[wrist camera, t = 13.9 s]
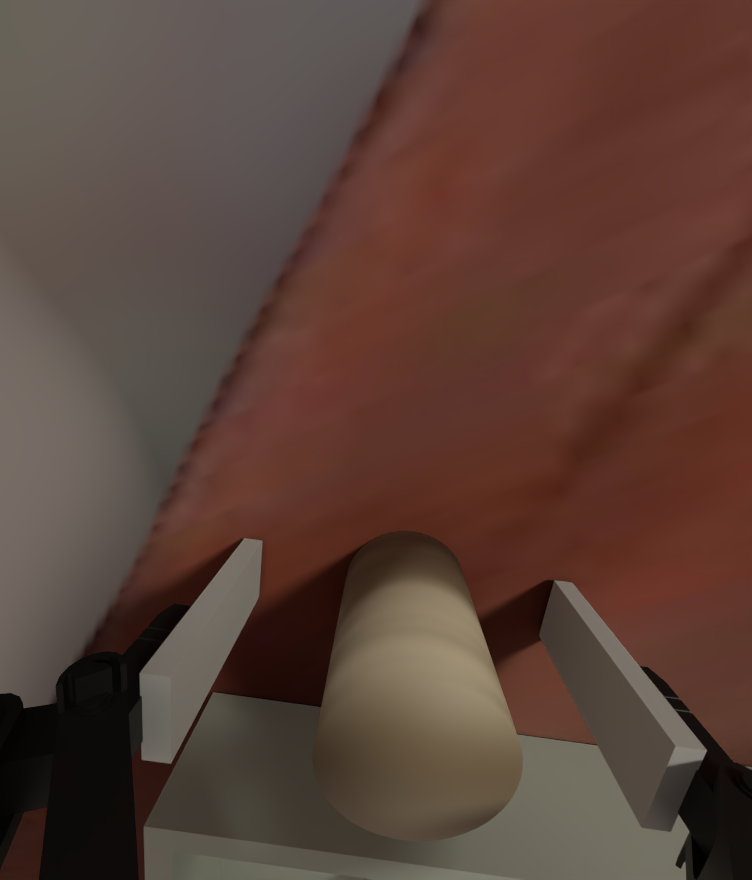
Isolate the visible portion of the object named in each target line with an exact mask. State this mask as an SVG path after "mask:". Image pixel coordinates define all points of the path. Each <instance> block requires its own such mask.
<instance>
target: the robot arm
mask: <svg viewBox="0 0 752 880" xmlns="http://www.w3.org/2000/svg"><path fill="white" fill-rule="evenodd" d="M261 556H262V541H261V540H254V539H246V538H244V539H243V541H242V542H241V543H240V545H239V546H238V547H237V548H236V550H235V551H234V552H233V554H232V555H231V556H230V557H229V559H228V560H227V561H226V563H225V564H224V565H223V566H222V568H221V569H220V570H219V572H218V573H217V574H216V575H215V577H214V578H213V579H212V581H211V582H210V583H209V584H208V586H207V587H206V588H205V590H204V591H203V592H202V593H201V595H200V596H199V597H198V599H197V600H196V601H195V602H194V604H193V605H192V606H185V605H178V604H174V605H172V606H171V607H169V608H167V609H166V610H164V611H163V612H161V613H160V614H158V616H157V617H156V618H155V619H154V620H153V621H152V622H151V624H150V625H149V626H148V628H147V629H145V630H144V631H143V633H142V634H141V635H140V636H139V638H138V639H136V641H135V642H134V643H133V644H132V645H131V646H130V647H129V649H128V650H127V651H126V652H125V653H124V654H123V655H120V654H118V653H117V652H100V653H95V654H92V655H89V656H87V657H84V658H82V659H80V660H78V661H77V662H75V663H74V664H72V665H71V666H69V667H68V668H67V669H66V670H65V671H64V672H63V673H62V674H61V676H60V677H59V679H58V681H57V684H56V695H57V703H55V704H49V705H43V706H36V707H30V708H24V709H23V703H22V701H21V699H20V697H19V696H17V695H14V694H12V693H8V694H0V868H1V866H2V863H3V861H4V859H5V856H6V854H7V852H8V849H9V847H10V844H11V842H12V840H13V837H14V835H15V833H16V830H17V828H18V825H19V823H20V821H21V818H22V816H23V813H24V812H26V811H31V810H35V809H39V808H44V807H47V816H46V824H45V833H44V841H43V850H42V858H41V867H40V876H39V880H139V877H138V860H137V843H136V827H135V810H134V793H133V777H132V760H131V759H132V757H133V756H134V754H135V753H136V751H137V749H138V748H139V746H140V745H141V754H142V760H146V761H154V762H161V763H169V764H171V763H172V761H173V759H174V757H175V755H176V753H177V751H178V749H179V748H180V746H181V744H182V742H183V740H184V738H185V736H186V734H187V732H188V731H189V729H190V727H191V725H192V723H193V721H194V719H195V717H196V715H197V714H198V712H199V710H200V708H201V706H202V704H203V702H204V700H205V698H206V696H207V695H208V693H209V691H210V689H211V687H212V685H213V683H214V681H215V679H216V678H217V676H218V674H219V672H220V670H221V668H222V666H223V664H224V662H225V661H226V659H227V657H228V655H229V653H230V651H231V649H232V647H233V645H234V644H235V642H236V640H237V638H238V636H239V634H240V632H241V630H242V628H243V627H244V625H245V623H246V621H247V619H248V617H249V615H250V613H251V611H252V610H253V608H254V606H255V604H256V602H257V600H258V598H259V587H260V572H261ZM539 637H540V639H541V641H542V643H543V644H544V646H545V648H546V650H547V652H548V654H549V656H550V658H551V659H552V661H553V663H554V665H555V667H556V669H557V671H558V673H559V674H560V676H561V678H562V680H563V682H564V684H565V686H566V687H567V689H568V691H569V693H570V695H571V697H572V699H573V701H574V702H575V704H576V706H577V708H578V710H579V712H580V714H581V716H582V717H583V719H584V721H585V723H586V725H587V727H588V729H589V731H590V732H591V734H592V736H593V738H594V740H595V742H596V744H597V746H598V747H599V749H600V751H601V753H602V755H603V757H604V759H605V761H606V762H607V764H608V766H609V768H610V770H611V772H612V774H613V776H614V777H615V779H616V781H617V783H618V785H619V787H620V789H621V791H622V792H623V794H624V796H625V798H626V800H627V802H628V804H629V806H630V807H631V809H632V811H633V813H634V815H635V817H636V819H637V821H638V822H639V824H640V826H641V828H646V829H653V830H660V831H667V832H671V830H672V828H673V826H674V824H675V821H676V819H677V817H678V815H679V816H680V817H681V819H682V820H683V822H684V823H685V825H686V827H687V828H688V830H689V834H688V836H687V838H686V840H685V842H684V844H683V847H682V849H681V851H680V853H679V855H678V857H677V861H676V864H675V865H676V866H677V867H678V868H680V869H681V868H682V866H683V863H684V862H686V880H752V770H751V769H749V768H747V767H745V766H743V765H740V764H738V763H734V762H733V761H732V760H731V759H730V758H729V756H728V755H727V754H726V753H725V752H724V751H723V749H722V748H721V747H720V746H719V745H718V743H717V742H716V741H715V740H714V739H713V738H712V736H711V735H710V734H709V733H708V732H707V730H706V729H705V728H704V727H703V726H702V725H701V723H700V722H699V721H698V720H697V719H696V717H695V716H694V715H693V714H691V713H690V710H689V709H688V708H687V707H686V706H685V704H684V703H683V702H682V701H681V700H679V697H678V696H677V695H676V694H675V693H674V691H673V690H672V689H671V688H670V687H669V685H668V684H667V683H666V682H665V681H664V680H663V679H661V678H660V677H659V676H658V675H657V674H655V673H654V672H653V671H652V670H650V669H649V668H648V667H642V666H639V665H638V664H637V663H636V661H635V660H634V659H633V658H632V656H631V655H630V654H629V653H628V651H627V650H626V649H625V648H624V646H623V645H622V644H621V643H620V641H619V640H618V639H617V638H616V636H615V635H614V634H613V633H612V631H611V630H610V629H609V628H608V627H607V625H606V624H605V623H604V622H603V620H602V619H601V618H600V617H599V615H598V614H597V613H596V612H595V610H594V609H593V608H592V607H591V605H590V604H589V603H588V602H587V600H586V599H585V598H584V597H583V595H582V594H581V593H580V592H579V590H578V589H577V588H576V587H575V585H574V584H573V583H570V582H563V581H556V580H554V583H553V586H552V590H551V594H550V597H549V601H548V604H547V608H546V612H545V615H544V619H543V622H542V626H541V630H540V633H539Z"/></svg>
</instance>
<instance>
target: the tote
mask: <svg viewBox="0 0 752 880" xmlns="http://www.w3.org/2000/svg"><path fill="white" fill-rule="evenodd" d="M320 711H321V707H316V706H309V705H302V704H295V703H287V702H280V701H273V700H266V699H259V698H251V697H244V696H237V695H230V694H223V693H215V692H213V694H212V696H211V698H210V699H209V701H208V703H207V705H206V707H205V709H204V711H203V713H202V715H201V717H200V719H199V721H198V723H197V725H196V726H195V728H194V730H193V732H192V734H191V736H190V738H189V740H188V742H187V744H186V746H185V748H184V750H183V751H182V753H181V755H180V757H179V759H178V761H177V763H176V765H175V767H174V769H173V771H172V773H171V775H170V777H169V778H168V780H167V782H166V784H165V786H164V788H163V790H162V792H161V794H160V796H159V798H158V800H157V802H156V803H155V805H154V807H153V809H152V811H151V813H150V815H149V817H148V819H147V821H146V823H145V825H144V864H145V880H365V878H366V879H373V880H686V862H684V863H683V866H682V868H681V869H680V868H678V867H677V866H676V865H675V864H676V861H677V857H678V855H679V853H680V851H681V849H682V847H683V844H684V842H685V840H686V838H687V836H688V834H689V830H688V828H687V827H686V825H685V823H684V822H683V820H682V819H681V817H680V816H679V815H678V817H677V819H676V821H675V824H674V826H673V828H672V830H671V832H667V831H660V830H653V829H646V828H641V826H640V824H639V822H638V821H637V819H636V817H635V815H634V813H633V811H632V809H631V807H630V806H629V804H628V802H627V800H626V798H625V796H624V794H623V792H622V791H621V789H620V787H619V785H618V783H617V781H616V779H615V777H614V776H613V774H612V772H611V770H610V768H609V766H608V764H607V762H606V761H605V759H604V757H603V755H602V753H601V751H600V749H599V747H598V746H597V745H590V744H583V743H575V742H568V741H561V740H554V739H547V738H539V737H532V736H525V735H518V734H517V736H518V739H519V742H520V745H521V749H522V756H523V770H522V775H521V780H520V782H519V785H518V788H517V790H516V792H515V793H514V795H513V797H512V799H511V800H510V801H509V803H508V804H507V805H506V806H505V808H504V809H503V810H502V811H500V812H499V813H498V814H497V815H496V816H495V817H494V818H492V819H491V820H490V821H488V822H487V823H485V824H483V825H482V826H480V827H478V828H476V829H474V830H472V831H469V832H467V833H465V834H462V835H458V836H455V837H451V838H446V839H441V840H433V841H407V840H399V839H394V838H388V837H385V836H381V835H378V834H375V833H373V832H370V831H368V830H365V829H363V828H361V827H359V826H357V825H356V824H354V823H352V822H351V821H349V820H348V819H346V818H345V817H344V816H342V815H341V814H340V813H339V812H338V811H337V810H335V808H334V807H333V806H332V805H331V804H330V803H329V802H328V801H327V799H326V798H325V796H324V795H323V793H322V792H321V790H320V788H319V785H318V783H317V781H316V778H315V774H314V770H313V763H312V759H313V747H314V742H315V737H316V732H317V726H318V721H319V716H320ZM745 767H747V768H749V769H751V770H752V767H748V766H745Z"/></svg>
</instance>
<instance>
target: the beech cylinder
mask: <svg viewBox="0 0 752 880" xmlns="http://www.w3.org/2000/svg"><path fill="white" fill-rule="evenodd" d="M312 763H313V770H314V774H315V778H316V781H317V783H318V785H319V788H320V790H321V792H322V793H323V795H324V796H325V798H326V799H327V801H328V802H329V803H330V804H331V805H332V806H333V807H334V808H335V810H337V811H338V812H339V813H340V814H341V815H342V816H344V817H345V818H346V819H348V820H349V821H351V822H352V823H354V824H356V825H357V826H359V827H361V828H363V829H365V830H368V831H370V832H373V833H375V834H378V835H381V836H385V837H388V838H394V839H399V840H407V841H433V840H441V839H446V838H451V837H455V836H458V835H462V834H465V833H467V832H469V831H472V830H474V829H476V828H478V827H480V826H482V825H483V824H485V823H487V822H488V821H490V820H491V819H492V818H494V817H495V816H496V815H497V814H498V813H499V812H500V811H502V810H503V809H504V808H505V806H506V805H507V804H508V803H509V801H510V800H511V799H512V797H513V795H514V793H515V792H516V790H517V788H518V785H519V782H520V780H521V775H522V770H523V756H522V749H521V745H520V742H519V739H518V736H517V733H516V730H515V727H514V724H513V721H512V718H511V715H510V712H509V709H508V706H507V703H506V700H505V697H504V694H503V691H502V688H501V685H500V682H499V679H498V676H497V674H496V671H495V668H494V665H493V662H492V659H491V656H490V653H489V650H488V647H487V644H486V641H485V638H484V635H483V632H482V629H481V626H480V623H479V620H478V617H477V614H476V611H475V608H474V605H473V602H472V599H471V596H470V593H469V590H468V587H467V585H466V582H465V579H464V576H463V573H462V570H461V567H460V564H459V562H458V560H457V559H456V557H455V556H454V554H453V553H452V552H451V551H450V550H449V549H448V548H447V547H446V546H445V545H444V544H443V543H441V542H440V541H438V540H436V539H435V538H433V537H430V536H428V535H425V534H422V533H417V532H411V531H397V532H391V533H387V534H384V535H381V536H378V537H376V538H374V539H372V540H371V541H369V542H368V543H366V544H365V545H364V546H363V547H362V548H361V549H360V550H359V551H358V552H357V553H356V554H355V556H354V557H353V559H352V561H351V562H350V565H349V567H348V570H347V575H346V580H345V585H344V591H343V596H342V601H341V606H340V611H339V617H338V622H337V627H336V632H335V638H334V643H333V648H332V653H331V658H330V664H329V669H328V674H327V679H326V685H325V690H324V695H323V700H322V705H321V711H320V716H319V721H318V726H317V732H316V737H315V742H314V747H313V759H312Z"/></svg>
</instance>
